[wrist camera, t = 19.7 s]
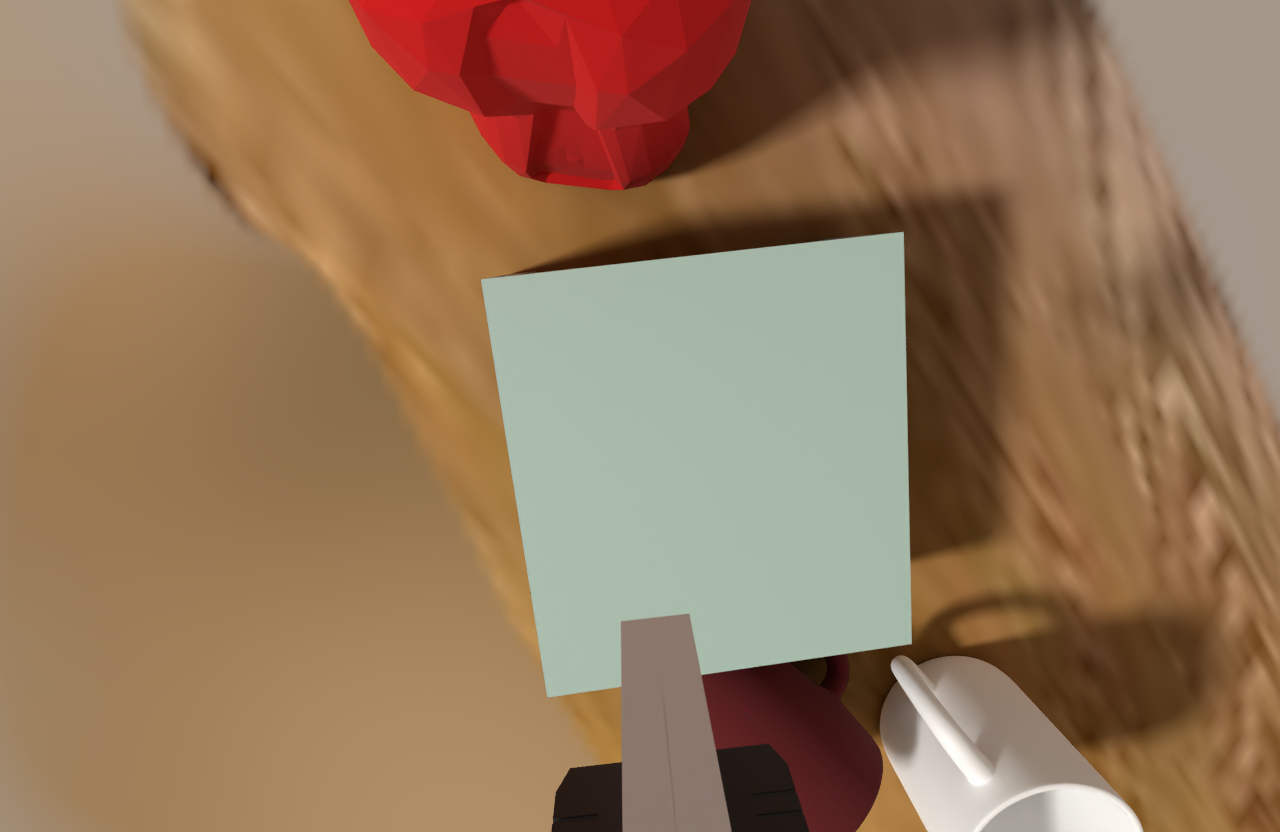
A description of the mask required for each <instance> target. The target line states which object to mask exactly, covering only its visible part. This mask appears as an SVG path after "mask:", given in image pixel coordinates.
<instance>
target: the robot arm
mask: <svg viewBox="0 0 1280 832" xmlns="http://www.w3.org/2000/svg"><path fill="white" fill-rule="evenodd" d="M621 703H622V762H621V763H612V764H603V765H594V766H586V767H577V768H570V770H569V771H568V773H567V775H566V776H565V778H564V780H563V781H562V783H561V785H560V786H559V788H558V790H557V791H556V796H555V806H554V814H553V824H552V832H810V831H809V828H808V825H807V822H806V819H805V816H804V815H803V811H802V807H801V804H800V801H799V798H798V795H797V794H796V789H795V786H794V783H793V779H792V776H791V773H790V770H789V767H788V764H787V763H786V762H785V761H784V760H783V758H782V757H781V756H780V755H779V754H778V753H777V752H776V751H775V750H774V749H773V748H772V747H771V745H770V744H769V743H768V744H760V745H751V746H742V747H734V748H725V749H716V748H715V743H714V738H713V733H712V728H711V723H710V718H709V712H708V707H707V702H706V697H705V692H704V687H703V681H702V676H701V671H700V666H699V661H698V656H697V651H696V645H695V640H694V635H693V630H692V625H691V620H690V614H681V615H672V616H663V617H654V618H646V619H637V620H628V621H621Z"/></svg>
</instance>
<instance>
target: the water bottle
mask: <svg viewBox="0 0 1280 832" xmlns="http://www.w3.org/2000/svg"><path fill="white" fill-rule="evenodd" d="M349 2H350V4H351V6H352V8H353V10H354V12H355V14H356V16H357V18H358V20H359V22H360V24H361V26H362V28H363V30H364V32H365V34H366V36H367V38H368V40H369V42H370V44H371V46H372V47H373V48H374V49H375V50H376V51H377V53H378V54H379V55H380V56H381V57H382V58H383V59H384V60H385V61H386V62H387V63H388V64H389V65H390V66H391V67H392V68H393V69H394V70H395V71H396V72H397V73H398V74H399V75H400V76H401V77H402V78H403V79H404V81H405V82H406V83H407V84H408V85H409V86H410V87H411V88H412V89H413V90H414V91H417V92H420V93H422V94H425V95H428V96H430V97H433V98H436V99H438V100H441V101H444V102H446V103H449V104H452V105H454V106H457V107H460V108H462V109H465V110H467V111H469V112H470V114H471V116H472V118H473V120H474V122H475V124H476V126H477V127H478V129H479V131H480V133H481V135H482V137H483V138H484V139H485V140H486V142H487V143H488V144H489V145H490V147H491V148H492V149H493V151H494V152H495V153H496V154H497V156H498V157H499V158H500V159H501V161H502V162H503V163H505V164H506V165H507V166H508V167H510V168H511V169H512V170H513V171H515V172H516V173H517V174H518V175H520V176H523V177H527V178H530V179H534V180H538V181H541V182H545V183H554V184H563V185H572V186H581V187H589V188H598V189H607V190H624V189H629V188H634V187H639V186H644V185H646V184H648V183H649V182H650V181H652V180H653V179H654V178H656V177H657V176H658V175H660V174H661V173H662V172H664V171H665V170H666V169H668V167H669V166H670V165H671V163H672V162H673V161H674V159H675V158H676V157H677V156H678V154H679V153H680V152H681V150H682V148H683V146H684V143H685V141H686V138H687V136H688V133H689V127H690V120H689V115H688V106H689V104H690V103H692V102H693V101H695V100H696V99H697V98H699V97H700V96H702V95H703V94H705V93H706V92H707V91H709V90H710V89H712V87H713V86H714V84H715V83H716V81H717V80H718V78H719V77H720V76H721V74H722V73H723V71H724V70H725V68H726V67H727V65H728V64H729V62H730V61H731V59H732V58H733V56H734V55H735V54H736V51H737V48H738V44H739V41H740V37H741V34H742V31H743V27H744V24H745V20H746V17H747V14H748V10H749V7H750V3H751V0H349Z"/></svg>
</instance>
